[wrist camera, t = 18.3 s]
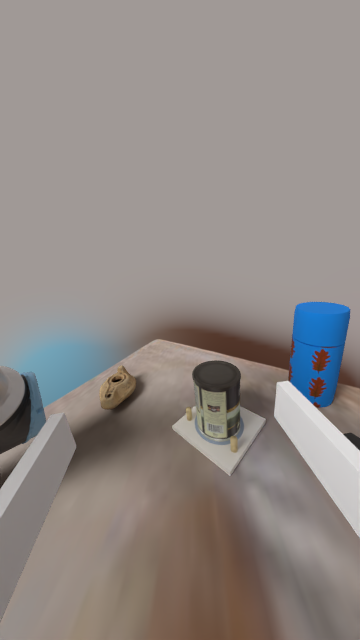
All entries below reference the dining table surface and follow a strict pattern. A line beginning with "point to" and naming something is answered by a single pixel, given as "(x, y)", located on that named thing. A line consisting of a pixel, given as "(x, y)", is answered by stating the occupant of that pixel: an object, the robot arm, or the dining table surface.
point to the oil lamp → (117, 388)
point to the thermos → (318, 349)
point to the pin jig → (226, 451)
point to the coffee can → (217, 399)
